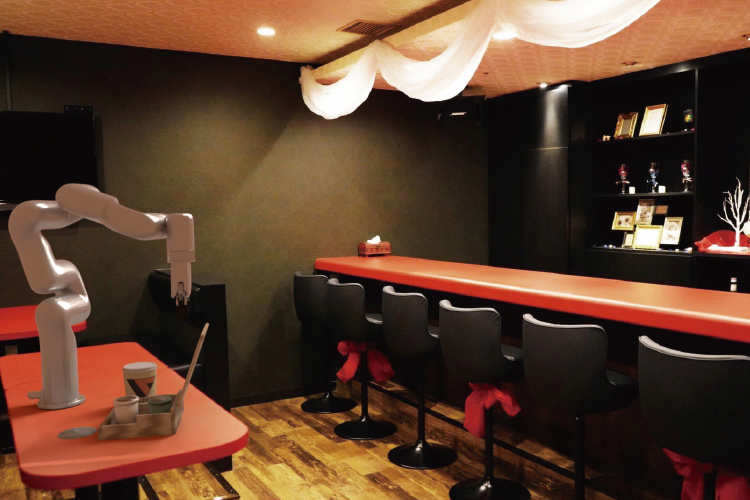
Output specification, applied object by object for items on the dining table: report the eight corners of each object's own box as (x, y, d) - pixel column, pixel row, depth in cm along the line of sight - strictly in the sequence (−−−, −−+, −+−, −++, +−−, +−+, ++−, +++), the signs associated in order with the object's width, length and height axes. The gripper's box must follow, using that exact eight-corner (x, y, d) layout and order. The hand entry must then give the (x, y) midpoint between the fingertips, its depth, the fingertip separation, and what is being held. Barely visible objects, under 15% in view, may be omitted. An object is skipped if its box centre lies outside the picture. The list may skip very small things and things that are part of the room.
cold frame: (98, 443, 152) (96, 414, 152) (114, 419, 170) (113, 394, 169) (175, 437, 155) (174, 409, 155) (184, 414, 173) (183, 389, 173)
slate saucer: (52, 443, 152) (52, 440, 152) (63, 431, 161) (63, 428, 161) (92, 440, 154) (91, 437, 154) (100, 428, 163) (100, 425, 163)
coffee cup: (125, 413, 175) (124, 370, 174) (122, 404, 183) (120, 363, 183) (161, 408, 179) (159, 366, 179) (156, 399, 188) (154, 359, 187)
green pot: (146, 427, 161) (146, 402, 160) (150, 419, 166) (149, 396, 166) (170, 425, 162) (169, 401, 161) (173, 418, 167) (172, 394, 167)
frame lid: (200, 335, 155) (203, 335, 155) (206, 322, 173) (209, 323, 173) (175, 408, 155) (179, 409, 155) (184, 388, 173) (187, 389, 173)
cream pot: (111, 431, 158) (110, 403, 158) (117, 423, 164) (116, 396, 164) (137, 429, 159) (136, 401, 159) (142, 421, 165) (141, 394, 165)
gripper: (170, 255, 186) (172, 312, 187) (164, 259, 169) (166, 322, 170) (196, 254, 188) (198, 311, 189) (193, 258, 171) (195, 320, 172)
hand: (183, 316), depth 180 cm, fingers open, 9 cm apart
